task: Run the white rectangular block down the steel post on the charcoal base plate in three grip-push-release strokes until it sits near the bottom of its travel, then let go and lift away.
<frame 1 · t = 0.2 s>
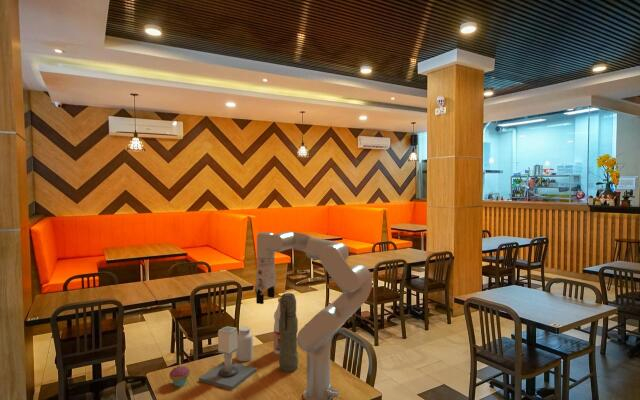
hand: (265, 300, 168), 37 cm above the table, tool pointing down, fingers open, 9 cm apart
post base: (228, 376, 176), on the table
pill bottle: (244, 358, 194), on the table
white rectangular block: (227, 340, 175), point 17 cm above the table, slide at 0.0 cm
fruit juice: (283, 352, 201), on the table
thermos: (288, 368, 184), on the table
cupcake: (180, 384, 170), on the table
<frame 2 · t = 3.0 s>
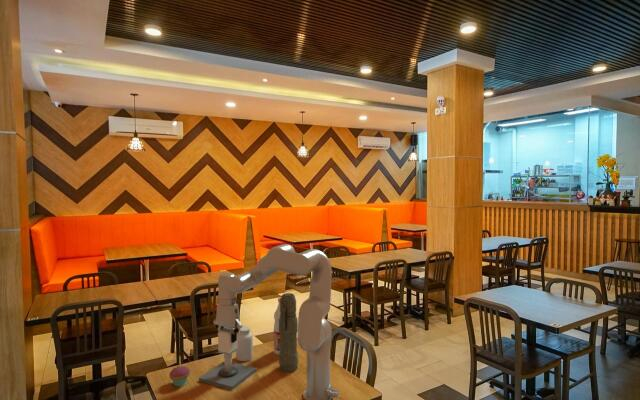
hand: (227, 340, 175), 17 cm above the table, tool pointing down, fingers closed on white rectangular block, 6 cm apart
white rectangular block: (227, 340, 175), point 16 cm above the table, slide at 0.0 cm, touching gripper
everything else where it was.
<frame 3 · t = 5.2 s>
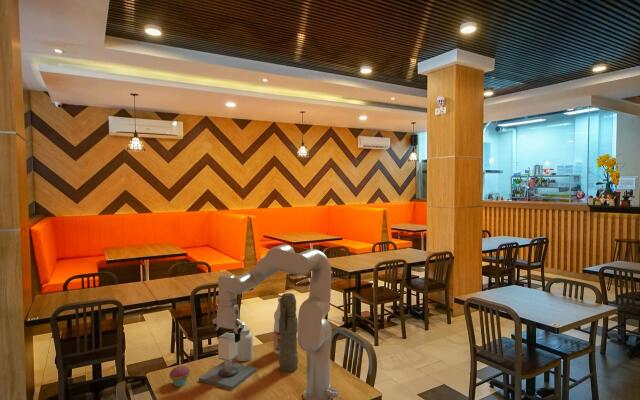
hand: (228, 339, 175), 17 cm above the table, tool pointing down, fingers open, 9 cm apart
white rectangular block: (227, 346, 176), point 13 cm above the table, slide at 3.0 cm
everything else where it was.
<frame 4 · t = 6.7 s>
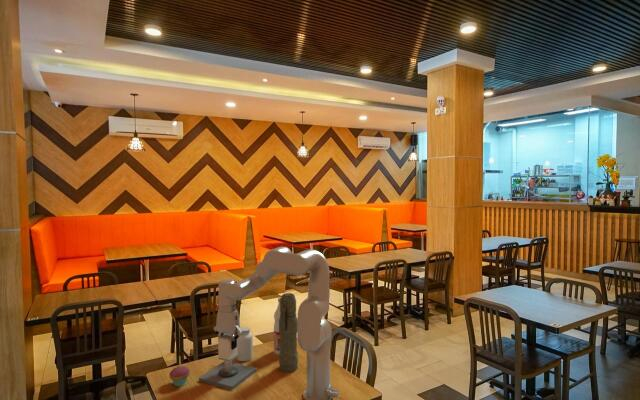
hand: (227, 346, 176), 14 cm above the table, tool pointing down, fingers closed on white rectangular block, 6 cm apart
white rectangular block: (227, 346, 176), point 13 cm above the table, slide at 3.1 cm, touching gripper
everything else where it was.
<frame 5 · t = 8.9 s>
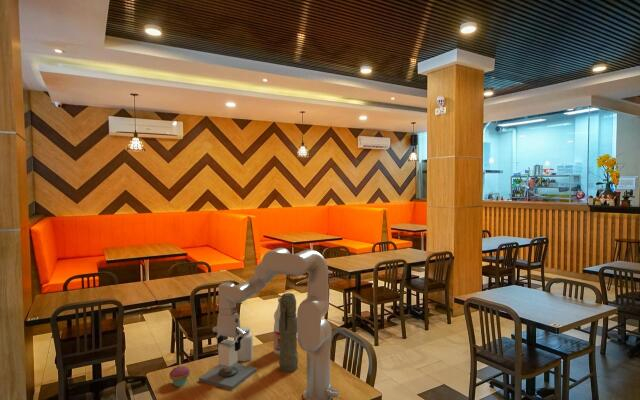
hand: (228, 348, 175), 13 cm above the table, tool pointing down, fingers open, 9 cm apart
white rectangular block: (228, 353, 176), point 10 cm above the table, slide at 6.0 cm
everything else where it was.
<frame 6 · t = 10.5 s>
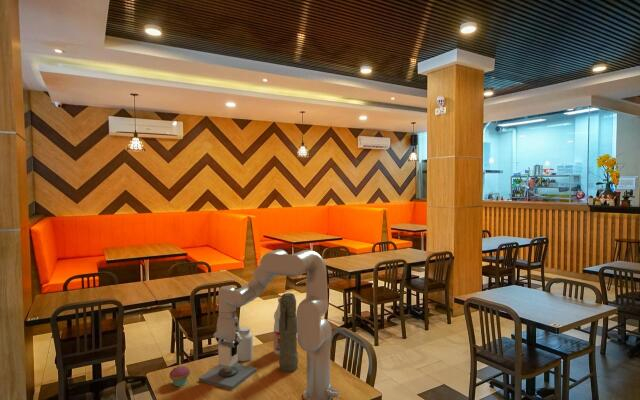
hand: (228, 353, 176), 11 cm above the table, tool pointing down, fingers closed on white rectangular block, 6 cm apart
white rectangular block: (228, 353, 176), point 10 cm above the table, slide at 6.1 cm, touching gripper
everything else where it was.
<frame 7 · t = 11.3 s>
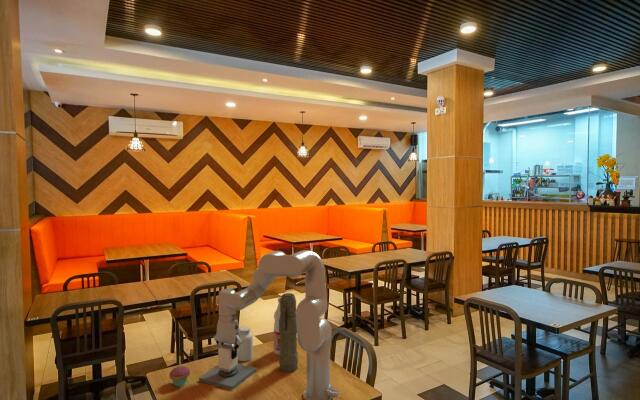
hand: (228, 356, 176), 9 cm above the table, tool pointing down, fingers closed on white rectangular block, 6 cm apart
white rectangular block: (228, 356, 176), point 9 cm above the table, slide at 7.5 cm, touching gripper
everything else where it was.
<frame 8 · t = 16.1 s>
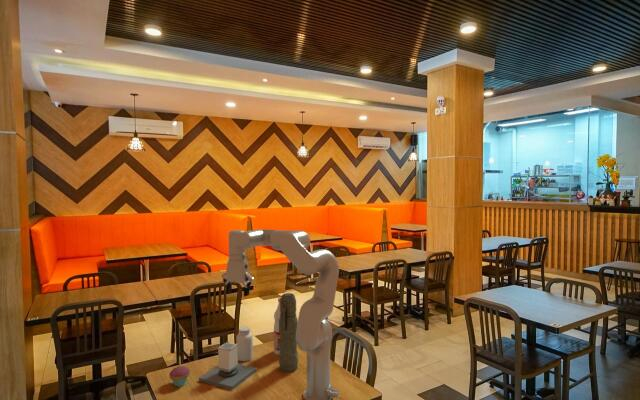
hand: (237, 294, 178), 36 cm above the table, tool pointing down, fingers open, 9 cm apart
white rectangular block: (228, 356, 176), point 9 cm above the table, slide at 7.6 cm
everything else where it was.
at the end: white rectangular block slide at 7.6 cm; the gripper is holding nothing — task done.
